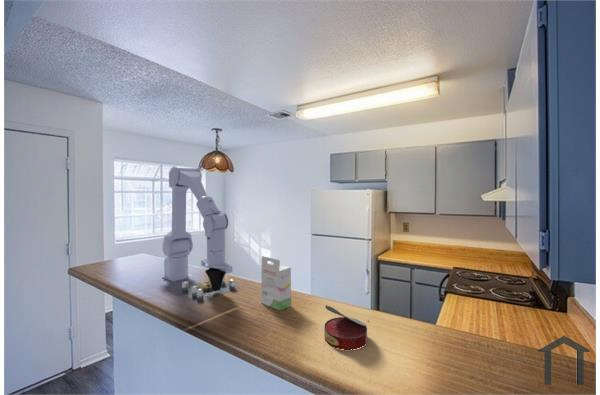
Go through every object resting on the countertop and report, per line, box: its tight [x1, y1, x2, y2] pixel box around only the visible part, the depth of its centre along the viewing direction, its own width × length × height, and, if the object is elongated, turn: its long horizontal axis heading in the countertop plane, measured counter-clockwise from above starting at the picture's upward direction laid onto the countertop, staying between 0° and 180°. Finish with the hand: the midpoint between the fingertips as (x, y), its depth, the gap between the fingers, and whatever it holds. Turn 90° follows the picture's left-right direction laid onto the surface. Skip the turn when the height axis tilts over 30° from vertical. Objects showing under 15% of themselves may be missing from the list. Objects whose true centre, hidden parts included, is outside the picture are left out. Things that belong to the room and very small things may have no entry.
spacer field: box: [174, 275, 241, 303], centre depth 98 cm, size 15×16×4 cm
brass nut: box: [198, 280, 212, 291], centre depth 98 cm, size 5×5×2 cm
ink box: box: [260, 255, 292, 312], centre depth 86 cm, size 9×5×15 cm, turn 47°
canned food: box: [324, 304, 368, 351], centre depth 67 cm, size 11×10×10 cm
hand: (216, 290), depth 95 cm, fingers closed
